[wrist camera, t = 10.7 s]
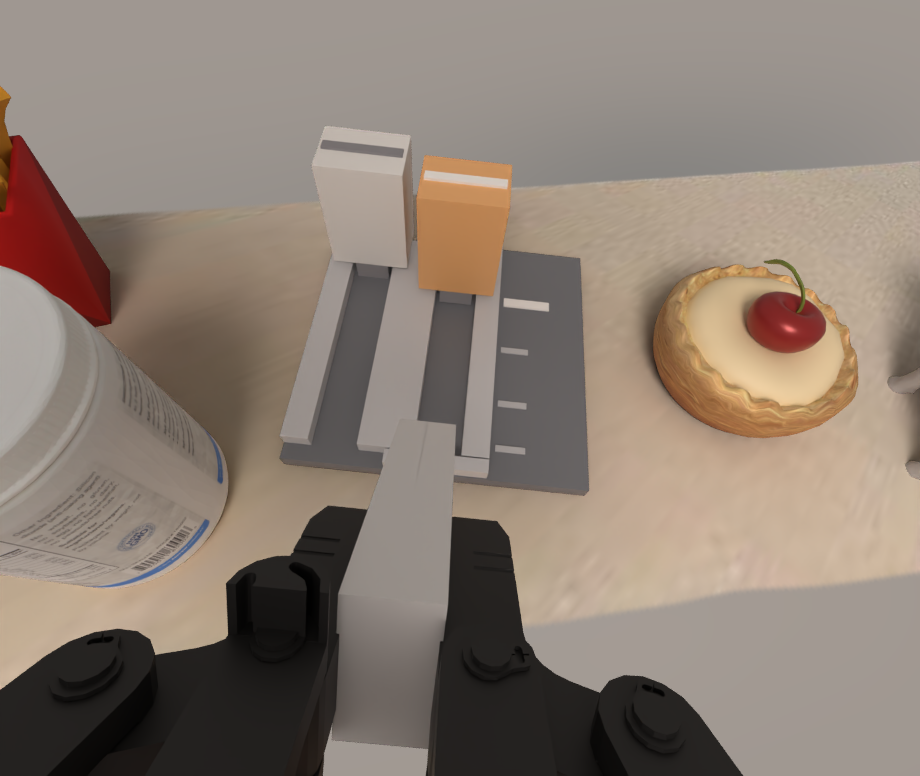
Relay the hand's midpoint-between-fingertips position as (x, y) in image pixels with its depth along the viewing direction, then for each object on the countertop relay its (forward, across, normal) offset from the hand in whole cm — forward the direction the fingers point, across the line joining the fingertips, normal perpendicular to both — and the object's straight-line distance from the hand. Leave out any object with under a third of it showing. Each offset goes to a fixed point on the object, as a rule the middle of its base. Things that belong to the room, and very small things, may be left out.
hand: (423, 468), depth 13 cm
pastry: (+21, +19, -1) cm, 29 cm away
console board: (+20, 0, -2) cm, 20 cm away
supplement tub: (+12, -16, -10) cm, 22 cm away
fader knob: (+23, 0, +3) cm, 23 cm away
